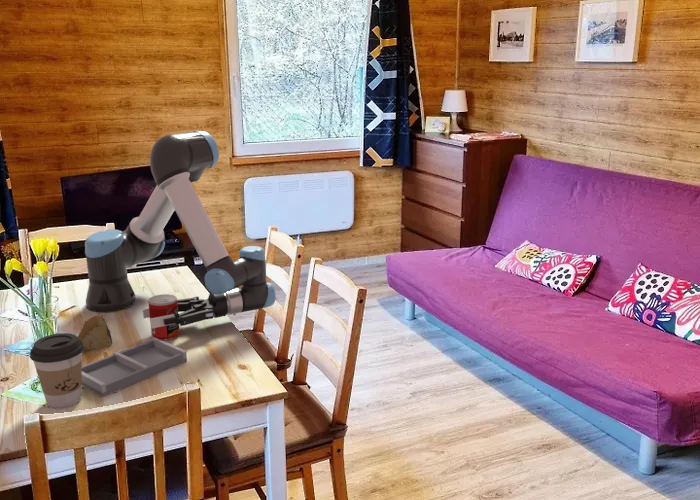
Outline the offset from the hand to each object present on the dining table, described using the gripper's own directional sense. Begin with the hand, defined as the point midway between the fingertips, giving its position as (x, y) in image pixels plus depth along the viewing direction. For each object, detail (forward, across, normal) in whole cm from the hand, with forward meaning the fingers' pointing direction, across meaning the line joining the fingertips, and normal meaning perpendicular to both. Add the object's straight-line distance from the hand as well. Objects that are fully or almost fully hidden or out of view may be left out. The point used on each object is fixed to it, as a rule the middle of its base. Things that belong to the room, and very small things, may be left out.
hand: (147, 318), depth 183 cm
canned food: (-5, 0, -6) cm, 8 cm away
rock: (+15, +1, -6) cm, 16 cm away
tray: (+9, -18, -6) cm, 21 cm away
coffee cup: (+26, -26, -6) cm, 37 cm away
